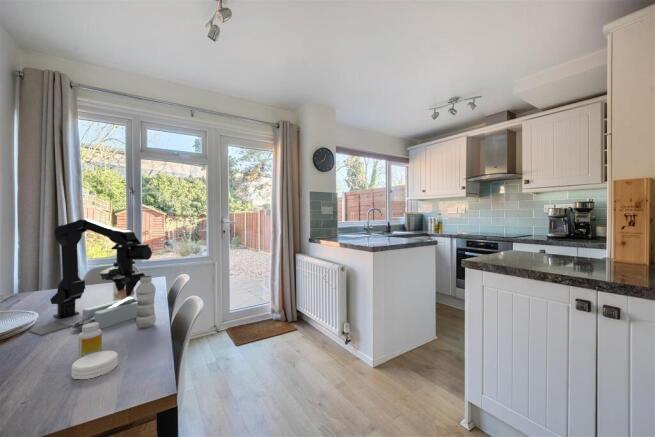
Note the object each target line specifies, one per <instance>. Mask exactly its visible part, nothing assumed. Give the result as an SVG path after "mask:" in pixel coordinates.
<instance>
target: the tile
mask: <svg viewBox="0 0 655 437" xmlns="http://www.w3.org/2000/svg"><path fill="white" fill-rule="evenodd" d="M133 294H134V295H136V292H135V289H134V290H133V291H132V293H131V294H130V296H131V295H133ZM114 295H115V298H116V299H121V300H123V299H125V298H127V297H129V296H127V295H126V288H124V289H122V290H120V291H118V292H116V293H114Z"/></svg>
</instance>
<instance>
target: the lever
mask: <svg viewBox="0 0 655 437" xmlns="http://www.w3.org/2000/svg"><path fill="white" fill-rule="evenodd" d="M134 298H135V297H134ZM134 298H132V297H127V298H125V299H124V300H122V301H120V302H118V303H116V304H114V305H112V306H110V307H108V308H112V307H116V306H119V305H125V304H127V303H129V302H131V301H133V300H134ZM108 308H106V309H108ZM82 320H83V319H82ZM82 320H81V321H78V322H76V323H74V324H73V325H72V327H71V328H72V329H73V330H76V331H79V330H80V329H82V326H83V325H85V324H88V323H92V322H93V321H94V315H92V316H90V317H88V318H86V319H85V320H83V321H82Z"/></svg>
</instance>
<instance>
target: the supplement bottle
mask: <svg viewBox="0 0 655 437" xmlns="http://www.w3.org/2000/svg"><path fill="white" fill-rule="evenodd" d="M98 328H99V323H98V322H93V323H88V324H85V325H83V326H82V328H81V331H82V332H80V333H79V335H78V359H80V358H82V357H84V356H86V355H89V354H92V353H96V352H100V351H103V350H102V348H103V347H102V340H103V337H102V335H103V331H102V329H98Z"/></svg>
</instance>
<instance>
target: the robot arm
mask: <svg viewBox="0 0 655 437" xmlns="http://www.w3.org/2000/svg"><path fill="white" fill-rule="evenodd" d="M87 231H90V232H93V233H96V234H98V235H101V236H104V237H107V238H108V239H109V240H110V241H111V242H113V243H114V244H115V245H113V246H112V247H111V248H110V249H111V250H116V261H115V262H114V263H112V264H113V265H112V266H110V267H108V268H105V269H104V270H102V271H100V272H99V275H100V277H101V279H102V280H106V281H110V282H112V283H113V284H114V283H115V285H116V288H117V290H118V291H120V290H122V289H124V287H126V295H127V296H130V294H131V293H132V291H133V289H134V290H135V287H136V286H137V284H138V282H140V279H141V277H142V276H146V274H145V273H144V272H139V271H138V272H136V270H134V269H133V268H134V265H135V264H136V261H139V260H140V261H141V260H142V261H148V260H150V259H151V257H152V256H153V251H152V249H151V247H149V244H148V243H145V244H142V243H141V241H140V240H139V238H138V237H137V236H136V234H135V231H133V230H129V229H128V230H127V229H121V228H120V229H119V228H115V227H112V226H109V225H106V224H104V223H101V222H99V221H96V220H94V219H92V218H80V219H78V220H75V221H73V222H69V223H66V224H62V225H58V226H57V227H56V228H55V230H54V235H55V240H56V241H57V243H58V244H60V247H61V266H62V267H61V268H62V270H61V271H62V279H61V280H60V282H59V284H58V286H57V291H56V293H55V294H54V295H53V296H52V297H51V298H50V304H51V305H57V306H56V307H57V308H56V311H57V314H53V315H52V316H53V317H55V318H58V319H64V318H67V317H72V316H74V315H79V314H80V312H79V311H76V302H77V301H76V300H79V299H81V298H82V296H83V293H85V289H86V285H85V284H86V281H85V279H81V278H80V277H79V265H78V264H79V263H78V262H79V261H78V258H79V257H78V244H79V242H80V241H81V240H82V235H83V234H84V233H86V232H87ZM86 290H87V289H86Z"/></svg>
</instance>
